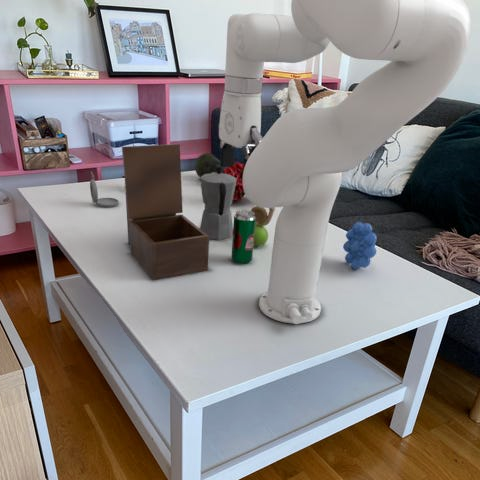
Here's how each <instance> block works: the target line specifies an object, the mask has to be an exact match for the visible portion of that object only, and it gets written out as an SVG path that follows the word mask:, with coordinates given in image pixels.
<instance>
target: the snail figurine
mask: <svg viewBox="0 0 480 480" xmlns="http://www.w3.org/2000/svg"><path fill="white" fill-rule="evenodd" d="M275 210H276V207H273V208H268V211H269V212H268V211H267V210H266V208H262V207H258V206H256V205H254V206H253V207H252V208H251V209H250V211H253V212H254V213H255V217H256V223H255V234H254V245H253V247H262V246H264V245H265V244H266V242H267V241H268V240H269V232H268V230H267V228H266V227H265V226H267V225H268V224H270V222H271V221H272V218H273V216H274V213H275Z"/></svg>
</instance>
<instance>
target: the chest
mask: <svg viewBox="0 0 480 480" xmlns="http://www.w3.org/2000/svg"><path fill="white" fill-rule="evenodd" d="M129 231H130V245H129V247H130V255H131V257H133V259H134V260H135V261H136V262H137V263H138V264H139V266H140V267H141V268H142V269H143V271H144V272H145V273H146V274H147V275H148V276H149V277H150V278H151V280H152V281H156V280H162V279H168V278H173V277H179V276H185V275H190V274H191V275H192V274H196V273H201V272H202V273H203V272H207V271H209V251H210V239H209V236H208V235H207V234H206V233H205V232H203V231H202V230H201V229H200V227H198V226H197V225H196V224H194V222H192V221H191V220H190V219H188V218H187V217H186V216H185V215H183V213H180V214H176V215H172V216H164V217H155V218H147V219H138V220H130V221H129Z"/></svg>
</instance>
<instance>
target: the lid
mask: <svg viewBox="0 0 480 480" xmlns="http://www.w3.org/2000/svg"><path fill="white" fill-rule="evenodd" d="M121 154H122V155H121V156H122V163H123V165H122V166H123V175H124V187H125V188H124V189H125V200H126V199H127V210H128V218H129V219H133V218H141V217H150V216H159V215H167V214H176V215H177V214H183V212H184V209H183V189H182V166H181V145H180V144H179V143H173V144H172V143H169V144H150V145H149V144H148V145H134V146H133V145H130V146H129V145H128V146H121Z"/></svg>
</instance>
